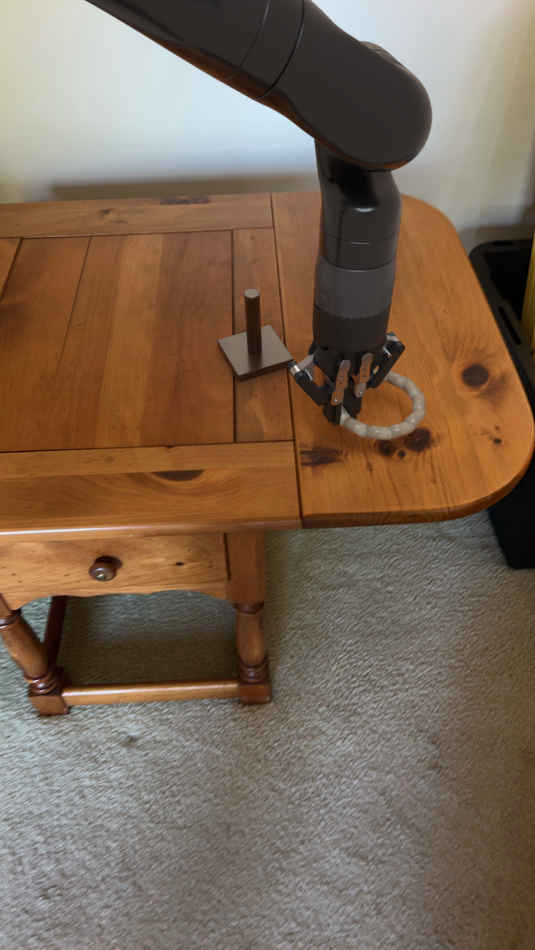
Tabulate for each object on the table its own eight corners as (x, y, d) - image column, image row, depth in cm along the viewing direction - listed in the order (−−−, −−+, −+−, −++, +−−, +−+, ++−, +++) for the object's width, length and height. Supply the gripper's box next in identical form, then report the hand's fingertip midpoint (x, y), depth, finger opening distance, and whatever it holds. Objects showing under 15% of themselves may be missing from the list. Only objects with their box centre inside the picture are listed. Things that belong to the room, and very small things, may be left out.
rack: (238, 382, 87) (233, 319, 79) (217, 346, 92) (211, 284, 84) (293, 365, 89) (294, 302, 81) (270, 331, 94) (268, 268, 86)
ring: (357, 453, 73) (358, 444, 72) (314, 391, 80) (315, 381, 78) (442, 425, 76) (444, 415, 75) (394, 366, 82) (395, 357, 81)
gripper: (395, 254, 67) (377, 381, 80) (271, 287, 64) (273, 414, 77) (435, 294, 62) (408, 422, 76) (304, 332, 59) (300, 458, 73)
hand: (340, 417), depth 76 cm, fingers closed on ring, 1 cm apart
